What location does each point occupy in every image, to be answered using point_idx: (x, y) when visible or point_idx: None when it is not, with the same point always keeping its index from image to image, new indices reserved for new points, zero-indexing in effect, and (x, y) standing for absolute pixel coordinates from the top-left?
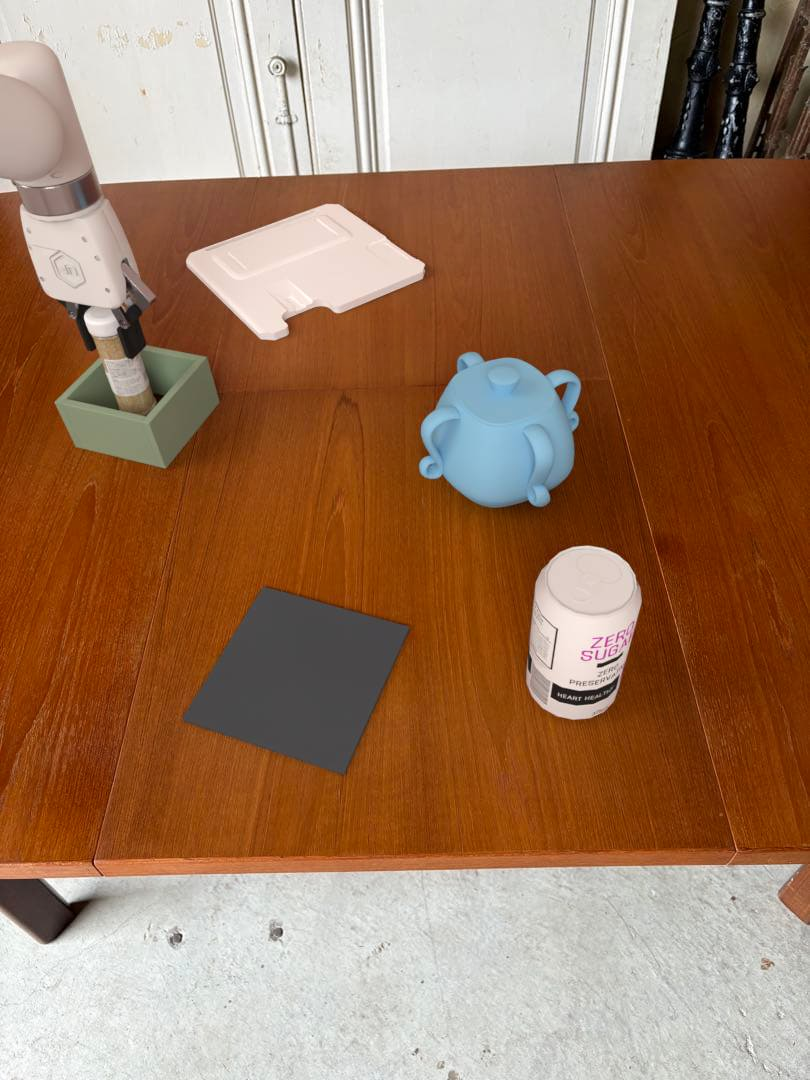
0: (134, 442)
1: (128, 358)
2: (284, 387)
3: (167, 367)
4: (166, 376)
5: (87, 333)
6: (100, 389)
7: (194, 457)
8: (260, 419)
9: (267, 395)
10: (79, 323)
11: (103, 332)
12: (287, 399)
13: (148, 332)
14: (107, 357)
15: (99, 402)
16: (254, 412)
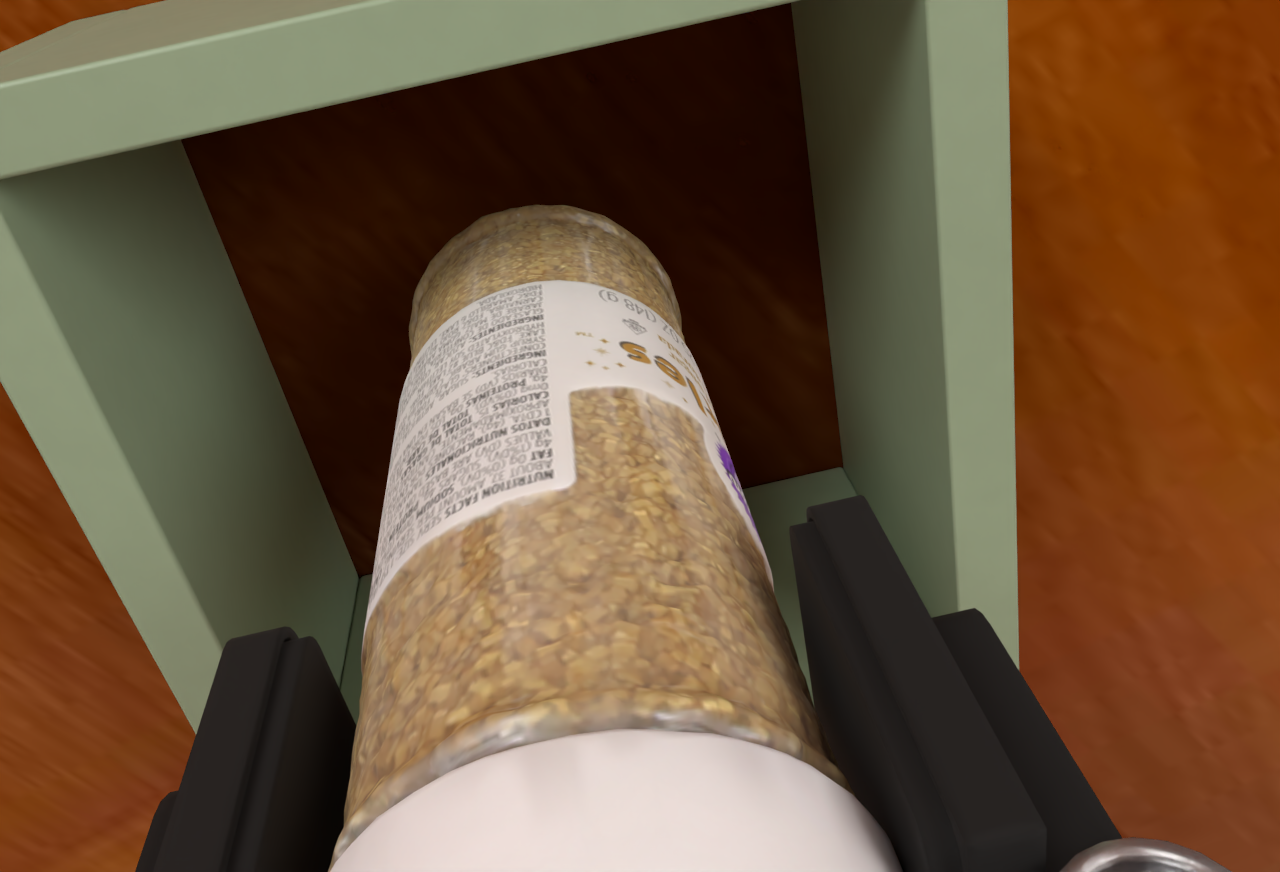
0: (215, 6)
1: (272, 630)
2: (138, 836)
3: None
4: None
5: (857, 700)
6: (885, 306)
7: None
8: (11, 633)
9: (157, 764)
10: (967, 816)
11: (408, 863)
12: (40, 792)
13: (1087, 775)
14: (516, 523)
15: (857, 226)
16: (93, 654)
